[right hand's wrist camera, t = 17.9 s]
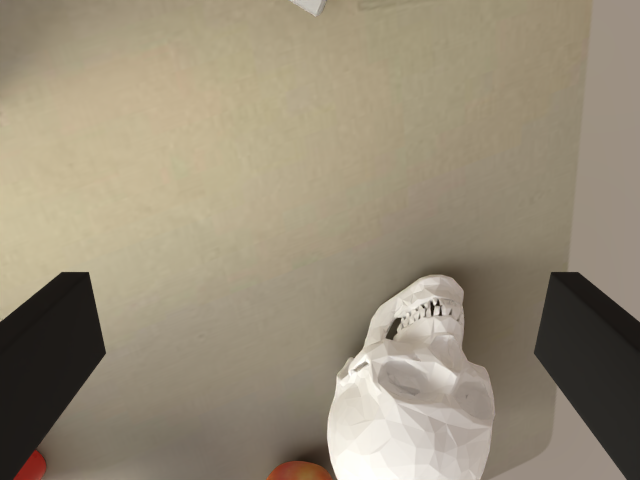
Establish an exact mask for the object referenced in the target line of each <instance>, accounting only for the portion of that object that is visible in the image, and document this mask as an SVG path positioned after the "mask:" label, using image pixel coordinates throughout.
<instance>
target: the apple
mask: <svg viewBox="0 0 640 480" xmlns="http://www.w3.org/2000/svg"><path fill="white" fill-rule="evenodd" d="M266 480H333V479H332V477H331V476H330V474H329V473H328V471H327V470H326V469H325V468H323V467H322V466H320V465H317V464H314V463H310V462H305V461H290V462H286V463H283V464H281V465H279V466H277V467H276V468H275V469H274V470H273V471H272V472H271V473H270V475H269V476H268V478H267V479H266Z"/></svg>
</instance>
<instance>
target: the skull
mask: <svg viewBox="0 0 640 480" xmlns="http://www.w3.org/2000/svg"><path fill="white" fill-rule="evenodd" d="M463 296H464V291H463V289H462V288H461V287H460V286H459V284H458V283H457V282H456V281H455V280H454V279H453V278H451V277H448V276H445V275H428V276H425V277H422V278H419V279H418V280H417V281H415V282H414V283H412V284H411V285H410V286H408V287H407V288H405V289H404V290H403V291H401V292H400V293H398V294H397V295H395V296H394V297H392V298H391V299H389V300H388V301H387V302H385V303H384V304H382V305H381V306H380V307H379V308H378V310H377V311H376V313H375V314H374V316H373V317H372V319H371V323H370V327H369V330H368V334H367V337H366V339H365V344H364V347H363V349H362V351H361V352H360V353H359V354H358V355H357V356H356V357H355V358H354V357H350V358H349V359H348V360H347V362H346V364H345V365H344V367H343V368H342V369H341V370H340V371H339V372H338V373H337V385H336V391H335V397H334V399H333V402H332V405H331V408H330V413H329V417H328V429H327V440H328V447H329V453H330V459H331V463H332V466H333V469H334V472H335V475H336V477H337V479H338V480H480V479H481V476H482V473H483V471H484V467H485V464H486V461H487V458H488V454H489V451H490V443H491V433H492V423H493V420H494V417H495V406H494V396H493V391H492V386H491V382H490V378H489V374H488V372H487V371H486V369H485V368H484V367H483V366H479V365H476V364H474V363H472V362H469V361H468V360H467V358H466V356H465V354H464V353H463V351H462V341H463V334H464V314H463V313H464V311H463V306H462V302H463ZM437 301H439V302H440V306H441V305H442V306H441V310H442V316H438V315H439V313H440V306H435V305H436V304H437ZM431 302H433V305H434V306H435V309H434V315H433V316H431V310H430V308H431V306H430V303H431ZM422 306H425V308H426V309H427V311H426V317H425V308H424V309H423V307H422ZM450 312H451V315H449V313H450ZM419 316H420V319H419ZM405 317H406V319H405ZM396 318H402V319H401V323H400V325H399V327H398V329H397V332H398V333H397V334H396V335H395V336H394V338H393V340H390V339H386V336H387V334H388V332H389V330H390V327H391V325H392V323H393V322H394V320H395V319H396Z"/></svg>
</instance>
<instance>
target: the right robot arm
mask: <svg viewBox="0 0 640 480" xmlns="http://www.w3.org/2000/svg"><path fill="white" fill-rule="evenodd" d="M105 354H106V351H105V346H104V341H103V337H102V332H101V327H100V322H99V318H98V313H97V308H96V304H95V299H94V294H93V289H92V285H91V280H90V275H89V272H61V273H60V274H59V275H58V276H57V277H55V278H54V279H53V280H52V281H50V282H49V283H48V284H47V285H45V286H44V287H43V288H42V289H41V290H39V291H38V292H37V293H36V294H34V295H33V296H32V297H31V298H29V299H28V300H27V301H26V302H25V303H23V304H22V305H21V306H20V307H18V308H17V309H16V310H15V311H13V312H12V313H11V314H10V315H9V316H7V317H6V318H5V319H4V320H2V321H1V322H0V480H13V479H14V478H15V476H16V475H17V474H18V472H19V471H20V470H21V468H22V467H23V466H24V464H25V463H26V461H27V460H28V459H29V457H30V456H31V455H32V453H33V452H34V451H35V449H36V448H37V447H38V445H39V444H40V442H41V441H42V440H43V438H44V437H45V436H46V434H47V433H48V432H49V430H50V429H51V427H52V426H53V425H54V423H55V422H56V421H57V419H58V418H59V417H60V415H61V414H62V413H63V411H64V410H65V408H66V407H67V406H68V404H69V403H70V402H71V400H72V399H73V398H74V396H75V395H76V393H77V392H78V391H79V389H80V388H81V387H82V385H83V384H84V383H85V381H86V380H87V379H88V377H89V376H90V374H91V373H92V372H93V370H94V369H95V368H96V366H97V365H98V364H99V362H100V361H101V359H102V358H103V357H104V355H105ZM534 354H535V355H536V357H537V358H538V359H539V361H540V362H541V364H542V365H543V366H544V368H545V369H546V370H547V372H548V373H549V374H550V376H551V377H552V379H553V380H554V381H555V383H556V384H557V385H558V387H559V388H560V389H561V391H562V392H563V393H564V395H565V396H566V398H567V399H568V400H569V401H570V403H571V404H572V406H573V407H574V408H575V410H576V411H577V413H578V414H579V415H580V417H581V418H582V419H583V421H584V422H585V423H586V425H587V426H588V427H589V429H590V430H591V432H592V433H593V434H594V436H595V437H596V438H597V440H598V441H599V442H600V444H601V445H602V447H603V448H604V449H605V451H606V452H607V453H608V455H609V456H610V457H611V459H612V460H613V461H614V463H615V464H616V466H617V467H618V468H619V470H620V471H621V472H622V474H623V475H624V476H625V478H626V479H627V480H640V322H639V321H638V320H636V319H635V318H634V317H633V316H631V315H630V314H629V313H628V312H627V311H625V310H624V309H623V308H622V307H620V306H619V305H618V304H617V303H615V302H614V301H613V300H612V299H611V298H609V297H608V296H607V295H606V294H604V293H603V292H602V291H601V290H599V289H598V288H597V287H596V286H595V285H593V284H592V283H591V282H590V281H588V280H587V279H586V278H585V277H583V276H582V275H581V274H580V273H578V272H551V275H550V280H549V285H548V289H547V294H546V299H545V304H544V308H543V313H542V318H541V322H540V327H539V332H538V337H537V341H536V346H535V351H534Z"/></svg>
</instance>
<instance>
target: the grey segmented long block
mask: <svg viewBox="0 0 640 480" xmlns="http://www.w3.org/2000/svg"><path fill="white" fill-rule="evenodd" d="M289 1H291V2H292V3H294V4H296V5H297V6H299V7H301V8H302V9H304V10H306V11H307V12H309V13H311V14H312V15H314V16H318V15H320V14H321V13H322V12H323V9H324V7H325V4H326V1H327V0H289Z"/></svg>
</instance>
